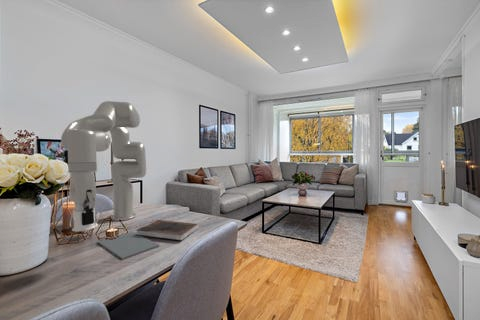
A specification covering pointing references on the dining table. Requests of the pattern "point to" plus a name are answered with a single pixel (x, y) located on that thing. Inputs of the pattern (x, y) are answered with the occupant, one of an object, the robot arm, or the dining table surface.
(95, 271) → the dining table surface
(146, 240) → the mat
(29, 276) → the dining table surface
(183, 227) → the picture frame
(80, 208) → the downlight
